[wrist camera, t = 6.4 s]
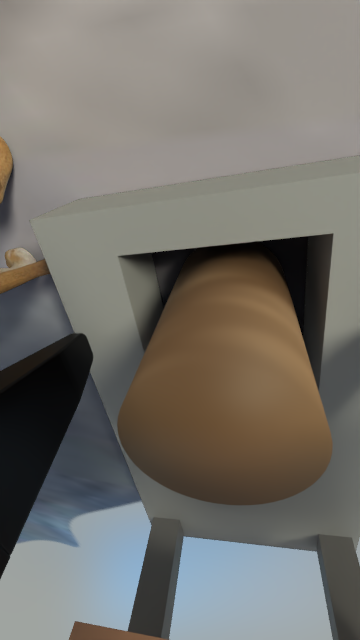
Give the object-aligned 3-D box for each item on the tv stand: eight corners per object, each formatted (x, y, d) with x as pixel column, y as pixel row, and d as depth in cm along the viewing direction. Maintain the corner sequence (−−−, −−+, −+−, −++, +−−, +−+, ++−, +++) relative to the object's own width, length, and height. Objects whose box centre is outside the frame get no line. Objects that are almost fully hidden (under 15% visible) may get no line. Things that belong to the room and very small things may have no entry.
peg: (285, 229, 10) (344, 364, 4) (284, 329, 12) (323, 513, 6) (170, 242, 11) (90, 367, 5) (186, 333, 13) (142, 497, 7)
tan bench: (359, 434, 14) (495, 781, 7) (347, 493, 17) (436, 797, 9) (140, 427, 17) (57, 674, 9) (158, 480, 19) (103, 709, 12)
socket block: (397, 149, 9) (462, 157, 6) (337, 493, 17) (354, 555, 15) (78, 199, 11) (29, 219, 8) (165, 480, 19) (154, 532, 17)
